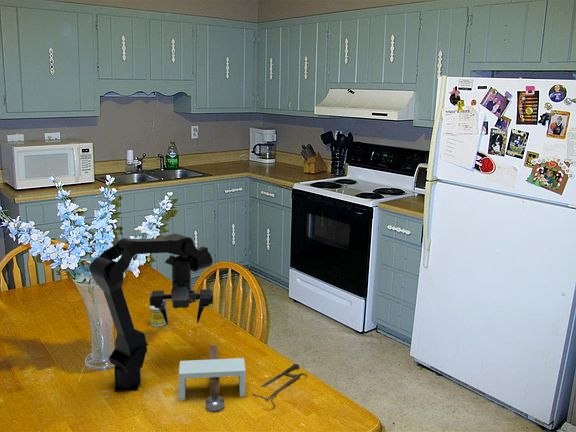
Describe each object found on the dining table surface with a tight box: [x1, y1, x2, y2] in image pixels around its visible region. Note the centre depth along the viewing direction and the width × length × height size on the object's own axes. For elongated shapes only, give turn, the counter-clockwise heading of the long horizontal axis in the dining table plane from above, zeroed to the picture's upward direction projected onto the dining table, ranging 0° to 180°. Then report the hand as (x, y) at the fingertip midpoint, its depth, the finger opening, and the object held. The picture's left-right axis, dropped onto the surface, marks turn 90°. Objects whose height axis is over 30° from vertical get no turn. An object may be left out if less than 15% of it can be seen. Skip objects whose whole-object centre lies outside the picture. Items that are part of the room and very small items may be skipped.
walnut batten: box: [208, 344, 220, 397], centre depth 161 cm, size 2×20×5 cm, turn 9°
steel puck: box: [205, 395, 225, 413], centre depth 146 cm, size 5×5×2 cm
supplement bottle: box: [149, 305, 166, 328], centre depth 194 cm, size 5×5×10 cm
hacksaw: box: [250, 363, 308, 411], centre depth 157 cm, size 24×10×2 cm, turn 140°
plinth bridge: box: [178, 357, 246, 401], centre depth 153 cm, size 18×7×8 cm, turn 98°
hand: (182, 323), depth 168 cm, fingers open, 9 cm apart
